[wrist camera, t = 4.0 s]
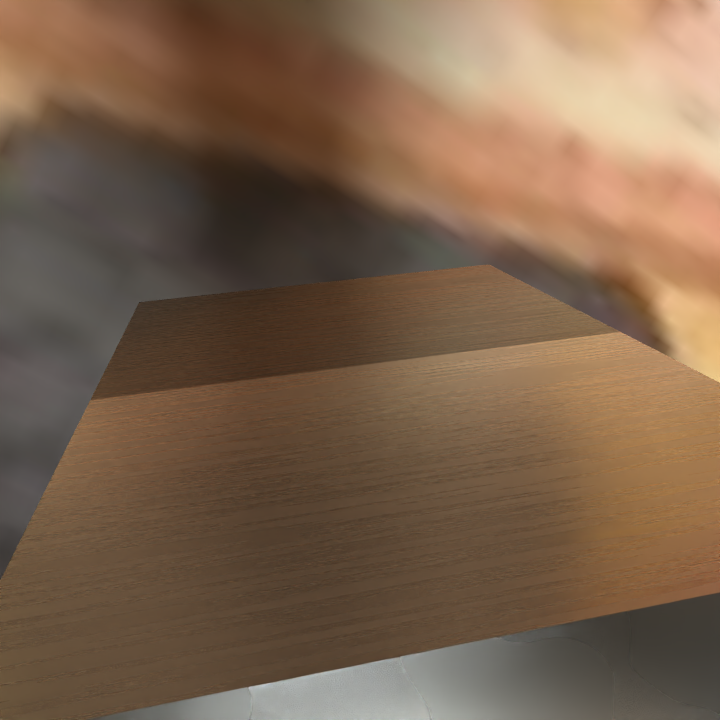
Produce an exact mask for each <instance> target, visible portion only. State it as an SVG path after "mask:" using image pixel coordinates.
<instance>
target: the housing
mask: <svg viewBox="0 0 720 720" xmlns="http://www.w3.org/2000/svg"><path fill="white" fill-rule="evenodd" d="M0 720H720V383H719V382H717V381H715V380H713V379H711V378H709V377H707V376H705V375H703V374H701V373H699V372H698V371H696V370H694V369H692V368H690V367H688V366H686V365H684V364H682V363H680V362H678V361H676V360H674V359H672V358H670V357H668V356H666V355H664V354H662V353H660V352H658V351H657V350H655V349H653V348H651V347H649V346H647V345H645V344H643V343H641V342H639V341H637V340H635V339H633V338H631V337H629V336H627V335H625V334H623V333H621V332H619V331H618V330H616V329H614V328H612V327H610V326H608V325H606V324H604V323H602V322H600V321H598V320H596V319H594V318H592V317H590V316H588V315H586V314H584V313H582V312H580V311H578V310H577V309H575V308H573V307H571V306H569V305H567V304H565V303H563V302H561V301H559V300H557V299H555V298H553V297H551V296H549V295H547V294H545V293H543V292H541V291H539V290H537V289H536V288H534V287H532V286H530V285H528V284H526V283H524V282H522V281H520V280H518V279H516V278H514V277H512V276H510V275H508V274H506V273H504V272H502V271H500V270H498V269H496V268H495V267H493V266H491V265H480V266H471V267H462V268H452V269H443V270H434V271H425V272H415V273H406V274H397V275H388V276H378V277H369V278H360V279H351V280H341V281H332V282H323V283H314V284H304V285H295V286H286V287H276V288H267V289H258V290H249V291H239V292H230V293H221V294H212V295H202V296H193V297H184V298H175V299H165V300H156V301H147V302H139V304H138V306H137V308H136V310H135V312H134V314H133V316H132V318H131V320H130V322H129V324H128V326H127V328H126V330H125V332H124V334H123V336H122V338H121V340H120V342H119V344H118V346H117V348H116V350H115V352H114V354H113V356H112V358H111V360H110V362H109V364H108V366H107V368H106V370H105V372H104V374H103V376H102V378H101V380H100V382H99V384H98V386H97V388H96V390H95V392H94V394H93V396H92V398H91V400H90V402H89V404H88V406H87V408H86V410H85V412H84V414H83V416H82V418H81V420H80V422H79V424H78V426H77V428H76V430H75V432H74V434H73V436H72V438H71V440H70V442H69V444H68V446H67V448H66V450H65V452H64V454H63V456H62V458H61V460H60V462H59V464H58V466H57V468H56V470H55V472H54V474H53V476H52V478H51V480H50V482H49V484H48V486H47V488H46V490H45V492H44V494H43V496H42V498H41V500H40V502H39V504H38V506H37V508H36V510H35V512H34V514H33V516H32V518H31V520H30V522H29V524H28V526H27V528H26V530H25V532H24V534H23V536H22V538H21V540H20V542H19V544H18V546H17V548H16V550H15V552H14V554H13V556H12V558H11V560H10V562H9V564H8V566H7V568H6V570H5V572H4V574H3V576H2V578H1V580H0Z"/></svg>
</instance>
